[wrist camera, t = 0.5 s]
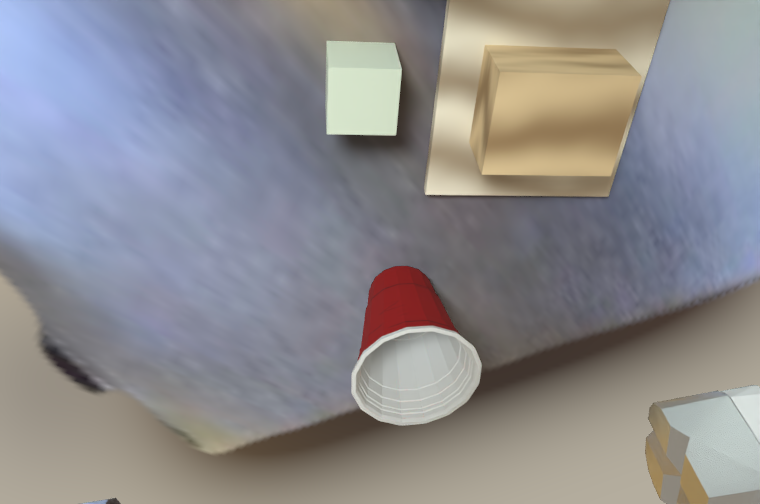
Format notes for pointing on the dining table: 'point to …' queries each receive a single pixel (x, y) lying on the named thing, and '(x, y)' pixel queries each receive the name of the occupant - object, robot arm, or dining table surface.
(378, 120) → the sage cube
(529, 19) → the foundation base
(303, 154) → the dining table surface
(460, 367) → the plastic cup
